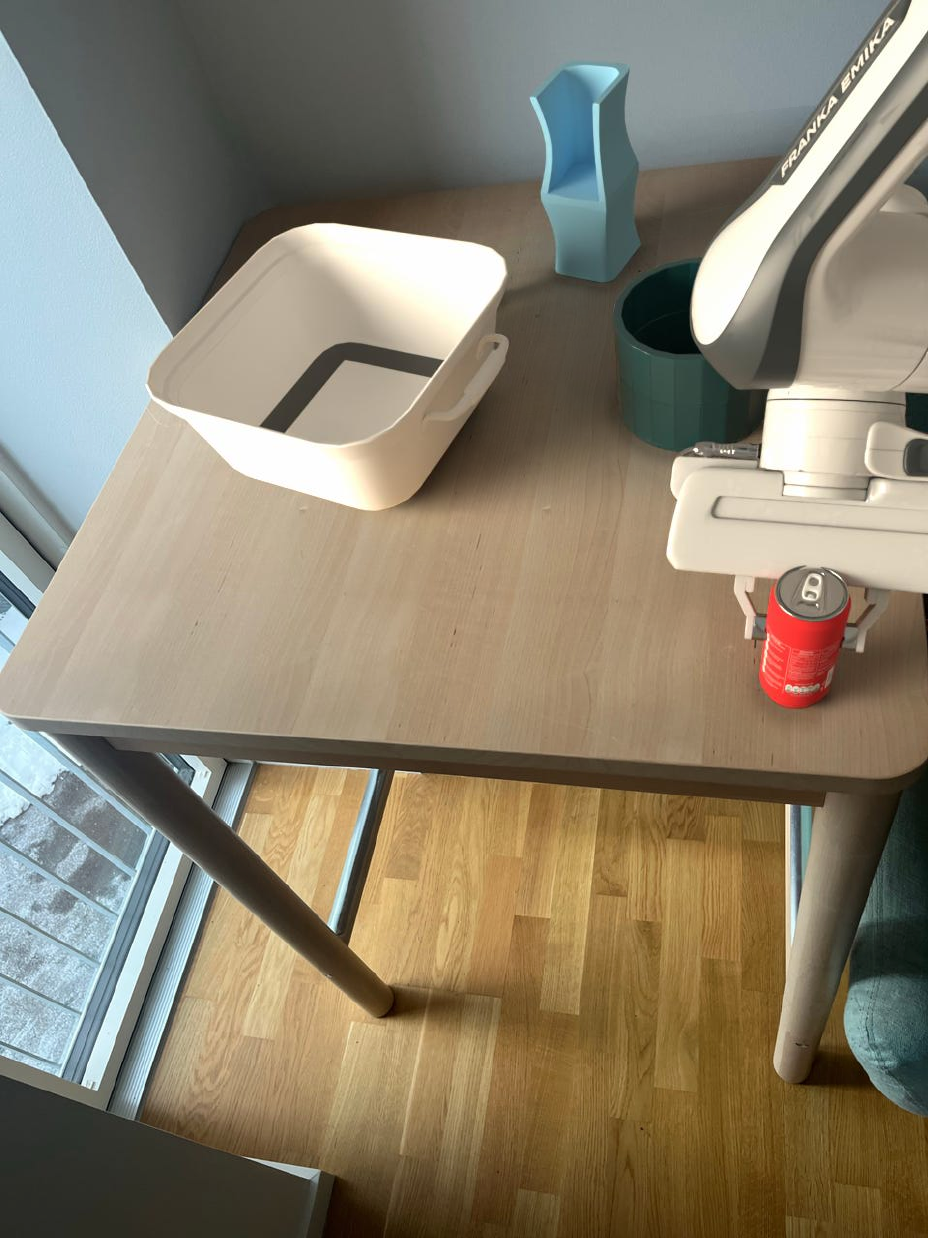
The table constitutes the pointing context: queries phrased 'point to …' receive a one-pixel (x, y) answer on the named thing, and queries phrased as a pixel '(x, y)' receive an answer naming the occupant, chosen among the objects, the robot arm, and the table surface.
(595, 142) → the vase
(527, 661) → the table surface
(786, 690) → the beverage can
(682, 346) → the enamel pot
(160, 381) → the white storage bin
